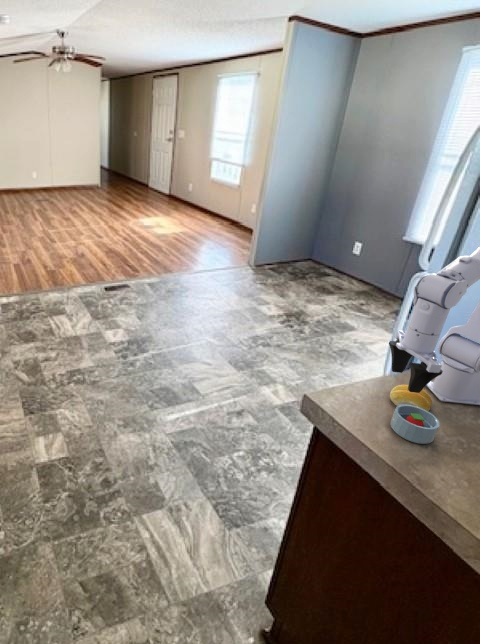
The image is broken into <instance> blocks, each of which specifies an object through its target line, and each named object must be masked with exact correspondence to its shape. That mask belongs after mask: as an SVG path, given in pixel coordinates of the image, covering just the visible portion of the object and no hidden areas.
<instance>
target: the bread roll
mask: <svg viewBox="0 0 480 644" xmlns="http://www.w3.org/2000/svg"><path fill="white" fill-rule="evenodd" d="M408 385H409V384H399V385H396V386H394V387H392V389H391V390H390V394H389V398H390V401H391V402H392V403H393V404H394V405H395V406H396V407H397V406H399V405H404V404H405V405H412V406H416V407H419V408H422V409H424V410H426V411H428V412H430V410H431V406H432V404H433V399H432V397H431V396H430V394H429V393H428V392H427V391H426V390H424V388H423V389H422V391H421V392H420V393H415V392H409V390H408Z"/></svg>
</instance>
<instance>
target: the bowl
mask: <svg viewBox="0 0 480 644" xmlns="http://www.w3.org/2000/svg"><path fill="white" fill-rule="evenodd" d="M410 413H417V414H420V415H421V416H422V417H423V419H424V421H423V423H424V425H423V427H421V426H417V425H415V424H412V423H410V422H408V421H407V420H405V419H406V418H407V417H408V416H411V415H410ZM389 424H390V427H391V429H392V430H393V432H394V433H396V435H398V436H399V437H401V438H402V439H404V440H406V441H409V442H411V443H415V444H423V445H424V444H425V445H426V444H430V443H432V442H434V440H435V437H436V435H437V433H438V431H439V429H440V425H441V422H440V420H439V419H438V418H437V417H436V415H434V414H433V413H432V412H430V411H426V410H424V409H422V408H419V407H416V406H412V405H405V404H404V405H399V406H397V405H396V407H395V409H394V411H393V413H392V417H391V419H390V423H389Z"/></svg>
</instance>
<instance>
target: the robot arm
mask: <svg viewBox="0 0 480 644" xmlns="http://www.w3.org/2000/svg"><path fill="white" fill-rule="evenodd" d="M479 280H480V246H479V247H478V248H476V250H474V251H473V252H472V253H471V254H470V255H461V256H458V257H456V259H454V260H452V261H451V262H450V263H449V264H447V265H446V266H444V267H443V268H442V269H440V270H439V271H437V272H436V273H429V274H424V275H422V276H421V277H420V278H419V279H418V281H417V283H416V285H415V286H414V288H413V301H412V305H413V306H414V307H413V311H412V313H411V316H410V319H409V322H408V324H407V328H406V330H396V331H395V335H394V338H395V339H396V340H389V342H388V345H389V348H390V354H391V372H392V373H398V374H399V373H400V374H403V372H405V370H406V368H407V366H408V365H409V368H410V369H409V370H410V376H409V380H408V381H409V382H408V384H407V385H408V390H409V392H415V393H420V392H421V391H422V389H423V390H424V388H425V387H427V388H428V389H429V390H430V391H431V393H432V394H433V395H434V396H435V397H436V398H437V399H438V400H439V401H440V402H446V403H454V404H465V405H474V406H475V405H476V406H480V300H479V301H478V303H477V304H476V306H475V307H474V309H473V311H472V312H471V314H470V316H469V318H468V319H467V322H466V323H464V324H460V325H454V326H451V327H450V328H449V329H448V330H447V332H446V333H445V334H444V335H443V336H442V337H441V338H440V336H441V334H442V332H443V329H444V326H445V324H446V321H447V318H448V317H449V313H450V311H451V309H452V308H453V307H455V306H457V305H458V303H459V302H460V301H461V299H462V298H463V296H465V295H466V294H467V291H468V289H469V288H471V287H472V286H473V285H474V284H475V283H477V282H478V281H479ZM439 339H440V340H439ZM436 347H437V348H436ZM436 349H437V352H438V354H439V355H440V356H439V359H440V360H441V362H440V361H439V359H438V355H437V353H436ZM412 357H414V358H416V359H418V360H419V361H420V363H419V362H409V361H410V360H411V359H412ZM432 380H433V381H432Z"/></svg>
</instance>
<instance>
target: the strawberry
mask: <svg viewBox="0 0 480 644" xmlns="http://www.w3.org/2000/svg"><path fill="white" fill-rule="evenodd" d="M410 415H411V416H408V417H407V418H406V419H405V420H407V421H408V422H410V423H412V424H415V425H417V426H421V427H423V425H424V423H423V421H424V419H423V417H422V416H421V415H420V414H417V413H410Z"/></svg>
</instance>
